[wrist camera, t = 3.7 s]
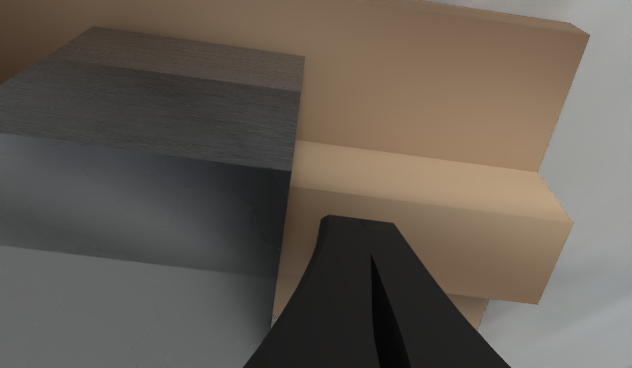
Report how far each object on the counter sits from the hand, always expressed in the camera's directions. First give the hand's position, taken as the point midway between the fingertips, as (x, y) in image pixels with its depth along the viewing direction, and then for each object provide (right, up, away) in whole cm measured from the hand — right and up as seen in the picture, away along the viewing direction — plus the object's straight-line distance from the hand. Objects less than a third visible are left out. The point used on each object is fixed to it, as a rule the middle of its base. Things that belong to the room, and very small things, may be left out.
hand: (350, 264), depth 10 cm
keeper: (-3, +2, +2) cm, 4 cm away
